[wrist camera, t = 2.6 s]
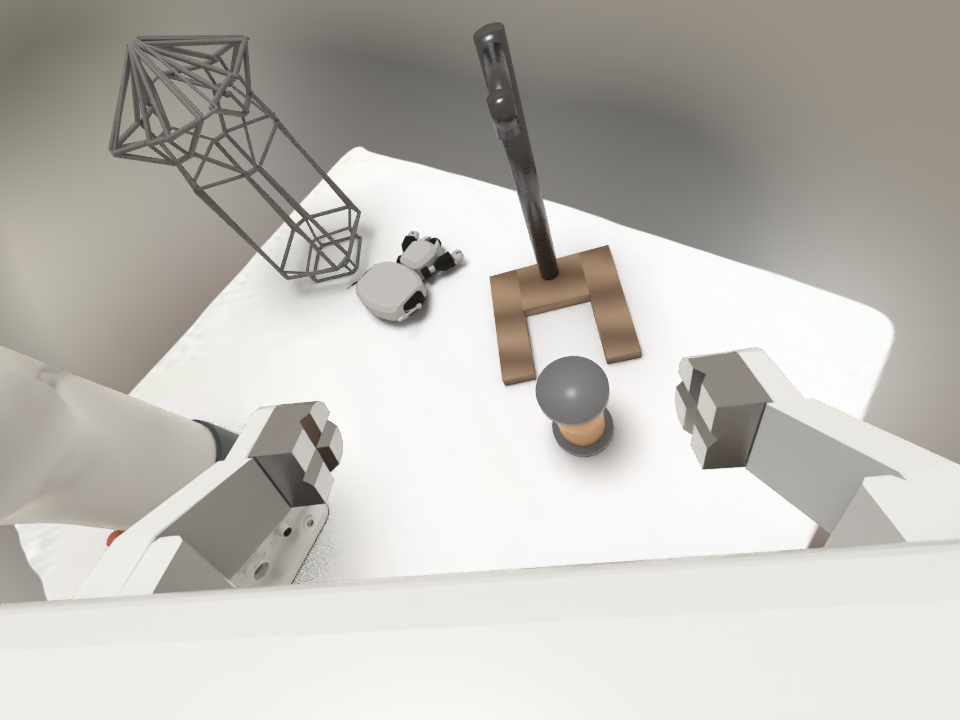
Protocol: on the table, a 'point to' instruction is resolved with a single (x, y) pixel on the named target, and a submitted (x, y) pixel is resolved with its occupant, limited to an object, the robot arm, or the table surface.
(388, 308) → the robot toy
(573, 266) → the notched board
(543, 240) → the hook stand
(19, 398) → the robot arm
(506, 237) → the table surface
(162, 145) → the geometric lantern
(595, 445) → the cord spool
